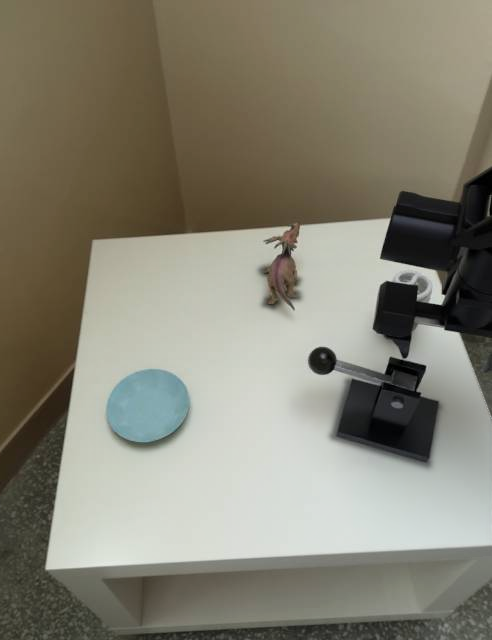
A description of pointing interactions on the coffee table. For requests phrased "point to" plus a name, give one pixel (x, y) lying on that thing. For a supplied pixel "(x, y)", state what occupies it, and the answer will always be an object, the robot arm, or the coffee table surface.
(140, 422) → the saucer
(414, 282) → the light bulb
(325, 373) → the lever
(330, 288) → the coffee table surface
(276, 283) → the dinosaur figurine
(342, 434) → the bracket
